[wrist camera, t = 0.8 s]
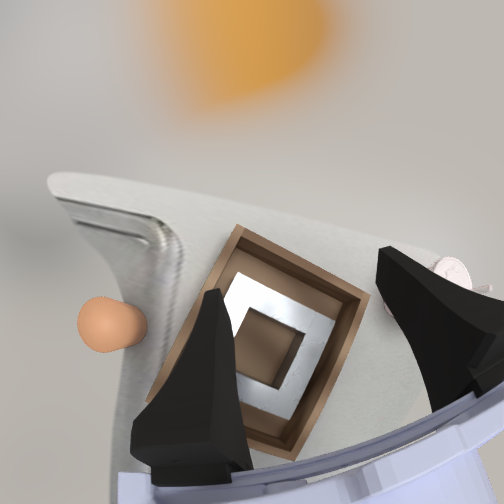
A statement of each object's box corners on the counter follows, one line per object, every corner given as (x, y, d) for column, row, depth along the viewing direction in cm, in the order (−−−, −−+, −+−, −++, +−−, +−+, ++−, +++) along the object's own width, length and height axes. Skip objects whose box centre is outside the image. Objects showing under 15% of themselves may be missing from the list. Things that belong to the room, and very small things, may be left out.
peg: (136, 353, 26) (113, 363, 18) (101, 332, 26) (69, 333, 18) (154, 317, 27) (137, 314, 20) (119, 297, 27) (92, 286, 19)
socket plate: (281, 411, 26) (289, 420, 24) (186, 370, 26) (185, 375, 23) (323, 322, 29) (335, 321, 26) (234, 277, 29) (237, 272, 26)
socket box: (281, 444, 26) (294, 461, 22) (152, 390, 25) (145, 401, 21) (348, 299, 31) (370, 295, 27) (231, 238, 30) (236, 223, 26)
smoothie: (386, 338, 31) (480, 336, 17) (366, 287, 32) (457, 260, 18) (422, 313, 32) (512, 298, 19) (404, 266, 33) (491, 233, 20)
